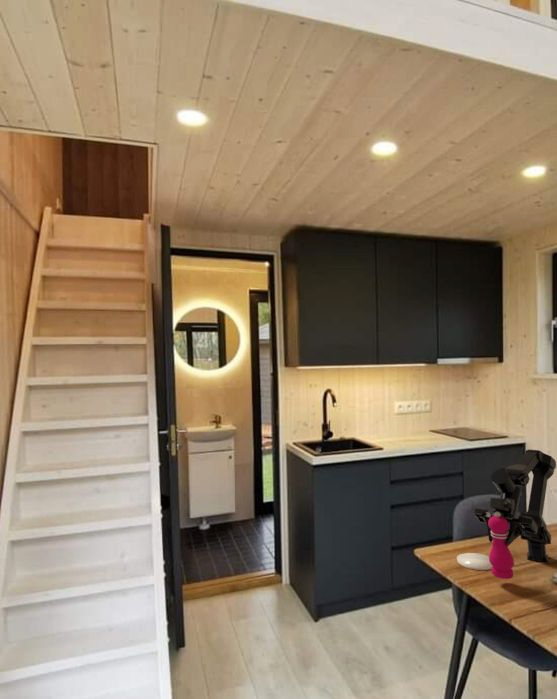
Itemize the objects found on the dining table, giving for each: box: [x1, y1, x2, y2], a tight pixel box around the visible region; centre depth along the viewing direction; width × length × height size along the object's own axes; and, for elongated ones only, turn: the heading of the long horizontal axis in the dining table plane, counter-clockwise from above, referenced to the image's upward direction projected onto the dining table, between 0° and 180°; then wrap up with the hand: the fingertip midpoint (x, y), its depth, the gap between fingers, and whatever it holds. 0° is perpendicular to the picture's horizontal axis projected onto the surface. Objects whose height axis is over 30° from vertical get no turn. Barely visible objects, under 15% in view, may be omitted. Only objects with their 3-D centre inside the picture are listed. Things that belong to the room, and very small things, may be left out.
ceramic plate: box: [456, 552, 492, 571], centre depth 155 cm, size 13×13×1 cm
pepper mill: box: [488, 512, 515, 580], centre depth 139 cm, size 7×7×20 cm
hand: (498, 543), depth 139 cm, fingers closed on pepper mill, 5 cm apart
